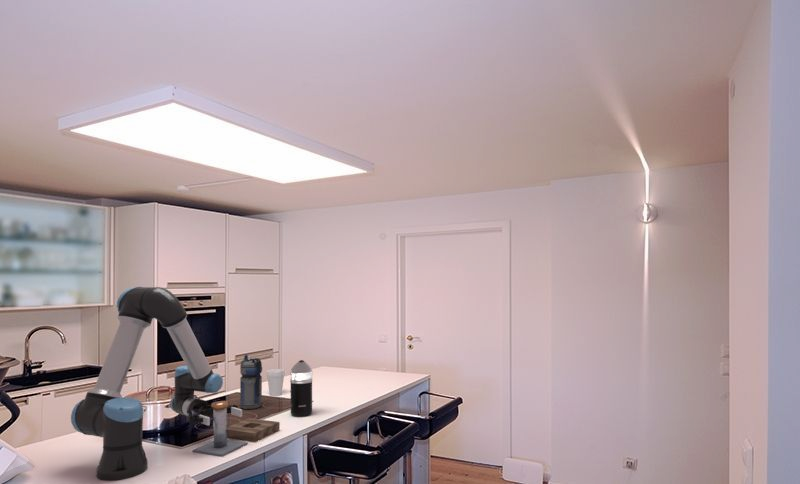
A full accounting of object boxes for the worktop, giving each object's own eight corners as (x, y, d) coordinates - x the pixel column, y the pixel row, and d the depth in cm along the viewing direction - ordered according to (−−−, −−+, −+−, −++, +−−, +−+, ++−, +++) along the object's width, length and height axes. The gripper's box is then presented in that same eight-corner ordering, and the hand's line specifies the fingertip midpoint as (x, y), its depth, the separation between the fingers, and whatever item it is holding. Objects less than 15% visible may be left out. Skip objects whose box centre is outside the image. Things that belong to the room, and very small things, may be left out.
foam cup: (266, 393, 282) (266, 369, 283) (283, 392, 285) (283, 368, 286) (267, 397, 273) (267, 372, 274) (285, 396, 276) (285, 371, 276)
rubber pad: (222, 456, 186) (222, 454, 186) (192, 451, 191) (192, 449, 191) (247, 444, 198) (247, 442, 199) (219, 440, 204) (219, 438, 204)
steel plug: (221, 449, 191) (220, 405, 192) (208, 447, 193) (207, 404, 194) (232, 443, 196) (231, 401, 197) (219, 442, 199) (219, 400, 200)
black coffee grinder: (290, 418, 233) (290, 362, 235) (289, 412, 243) (289, 359, 245) (313, 416, 236) (313, 361, 238) (311, 410, 246) (311, 357, 247)
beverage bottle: (250, 412, 245) (250, 359, 246) (235, 407, 253) (235, 356, 255) (268, 407, 252) (268, 356, 254) (253, 403, 261) (253, 353, 263)
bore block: (254, 442, 201) (254, 433, 201) (222, 437, 207) (222, 428, 207) (279, 430, 216) (279, 421, 216) (248, 426, 222) (248, 418, 222)
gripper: (224, 411, 216) (254, 419, 203) (165, 425, 197) (194, 436, 183) (224, 393, 217) (254, 400, 203) (165, 405, 197) (194, 414, 184)
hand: (225, 417), depth 193 cm, fingers open, 13 cm apart
